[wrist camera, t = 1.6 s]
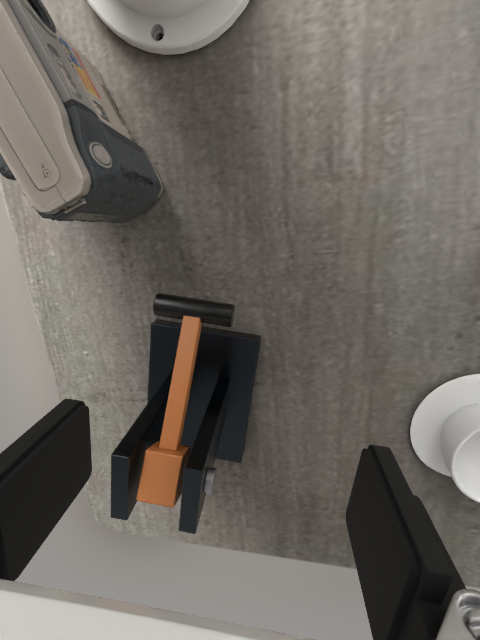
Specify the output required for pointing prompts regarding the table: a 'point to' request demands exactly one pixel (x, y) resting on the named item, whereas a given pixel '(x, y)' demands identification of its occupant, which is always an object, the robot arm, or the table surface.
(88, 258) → the table surface
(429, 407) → the teacup
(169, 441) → the lever
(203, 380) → the bracket
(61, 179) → the camera
